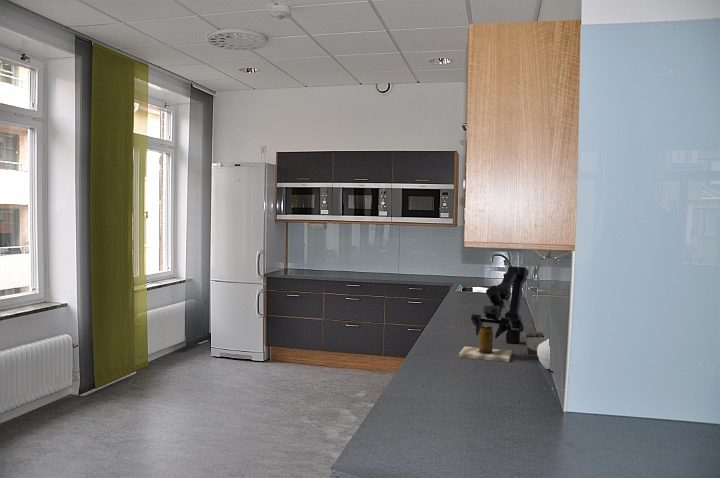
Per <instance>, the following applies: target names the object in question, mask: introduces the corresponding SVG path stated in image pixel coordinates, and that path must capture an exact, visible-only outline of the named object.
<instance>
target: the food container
mask: <svg viewBox="0 0 720 478" xmlns="http://www.w3.org/2000/svg"><path fill="white" fill-rule="evenodd" d="M543 333H544V332H541V331H540V332H539V331H529V332H526V333H525V335H524V338H525V340H526V341H525V342H526V354H527V355H526V356H528V355H529V356H533V357H538V355H537V348H538V345H539V344H541V343H542V342H544V335H543ZM529 356H528V357H529Z"/></svg>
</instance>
